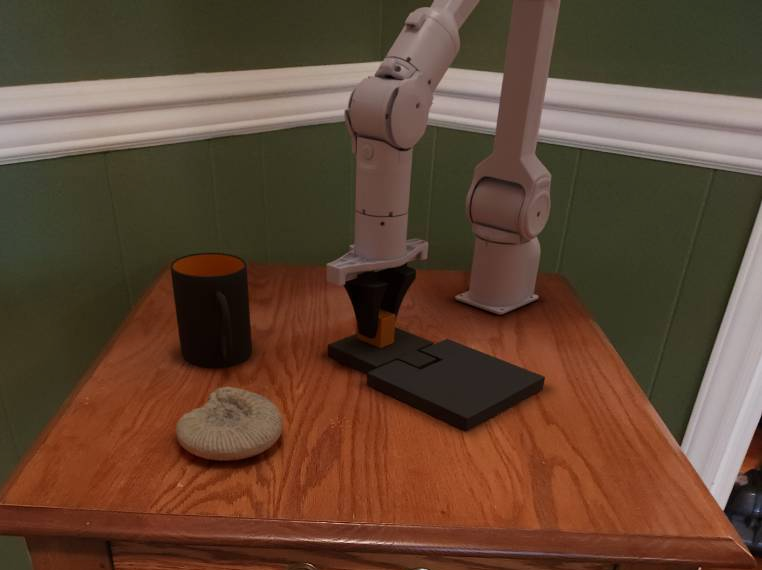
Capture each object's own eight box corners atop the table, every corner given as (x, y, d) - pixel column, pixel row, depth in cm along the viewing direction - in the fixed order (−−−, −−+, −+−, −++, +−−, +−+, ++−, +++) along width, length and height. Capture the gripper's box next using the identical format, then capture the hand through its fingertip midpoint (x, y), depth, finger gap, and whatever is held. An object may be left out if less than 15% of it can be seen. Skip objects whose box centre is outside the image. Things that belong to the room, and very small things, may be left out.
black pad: (384, 334, 92) (386, 295, 89) (453, 362, 86) (458, 321, 83) (327, 356, 87) (327, 315, 83) (397, 388, 81) (399, 345, 77)
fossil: (183, 373, 73) (283, 383, 74) (183, 407, 75) (280, 416, 76) (169, 428, 64) (283, 438, 65) (170, 464, 66) (280, 473, 68)
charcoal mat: (445, 350, 89) (447, 338, 88) (542, 389, 81) (545, 376, 80) (366, 384, 81) (366, 372, 80) (465, 431, 73) (467, 418, 72)
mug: (195, 386, 79) (184, 292, 73) (175, 343, 88) (164, 255, 82) (269, 376, 82) (264, 284, 75) (242, 335, 91) (236, 249, 84)
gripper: (399, 192, 84) (392, 307, 92) (306, 213, 76) (307, 338, 84) (446, 205, 80) (434, 324, 89) (354, 228, 72) (350, 357, 80)
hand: (375, 332), depth 86 cm, fingers closed on black pad, 2 cm apart
